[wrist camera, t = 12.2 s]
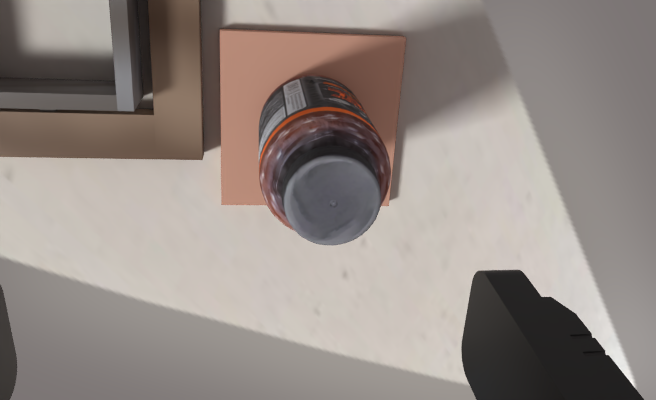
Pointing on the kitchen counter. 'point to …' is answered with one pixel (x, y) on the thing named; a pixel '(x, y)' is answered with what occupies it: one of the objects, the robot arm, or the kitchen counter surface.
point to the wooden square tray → (117, 96)
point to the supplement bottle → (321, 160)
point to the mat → (289, 62)
